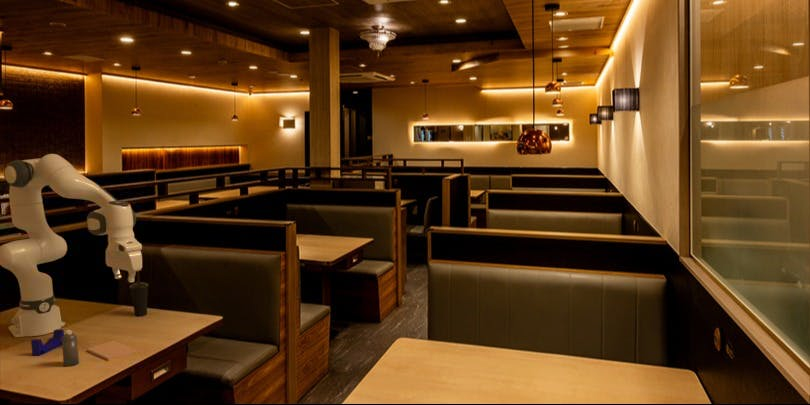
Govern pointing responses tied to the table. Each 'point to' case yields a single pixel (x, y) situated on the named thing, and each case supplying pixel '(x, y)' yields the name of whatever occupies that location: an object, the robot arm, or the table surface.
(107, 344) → the board
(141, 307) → the drinking cup
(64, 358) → the charger plug
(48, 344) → the blue u-shaped bracket
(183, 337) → the table surface
